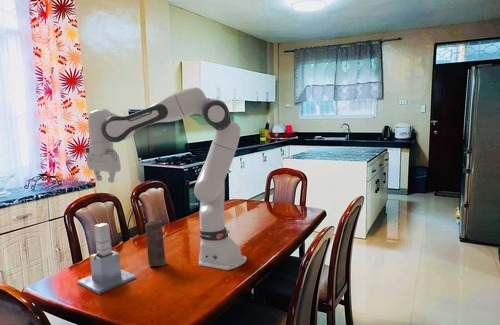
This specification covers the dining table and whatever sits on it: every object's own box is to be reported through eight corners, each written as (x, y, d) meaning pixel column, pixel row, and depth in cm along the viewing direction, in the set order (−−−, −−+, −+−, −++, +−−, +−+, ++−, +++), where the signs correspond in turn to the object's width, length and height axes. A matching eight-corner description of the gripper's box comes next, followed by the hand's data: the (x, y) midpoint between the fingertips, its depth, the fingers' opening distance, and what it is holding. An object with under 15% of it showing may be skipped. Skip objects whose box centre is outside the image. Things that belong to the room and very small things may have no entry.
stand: (135, 277, 143) (133, 248, 142) (99, 294, 131) (95, 262, 129) (114, 269, 153) (111, 241, 152) (77, 283, 141) (74, 254, 139)
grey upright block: (156, 269, 150) (152, 224, 148) (144, 266, 154) (140, 222, 152) (169, 263, 157) (165, 219, 154) (157, 260, 161) (154, 218, 158)
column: (114, 276, 142) (109, 224, 139) (104, 280, 139) (99, 227, 136) (108, 273, 145) (103, 222, 142) (99, 277, 141) (93, 225, 139)
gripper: (123, 148, 142) (126, 182, 144) (96, 147, 155) (99, 178, 156) (108, 150, 137) (111, 184, 139) (82, 149, 150) (85, 180, 151)
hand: (105, 181), depth 148 cm, fingers open, 8 cm apart
